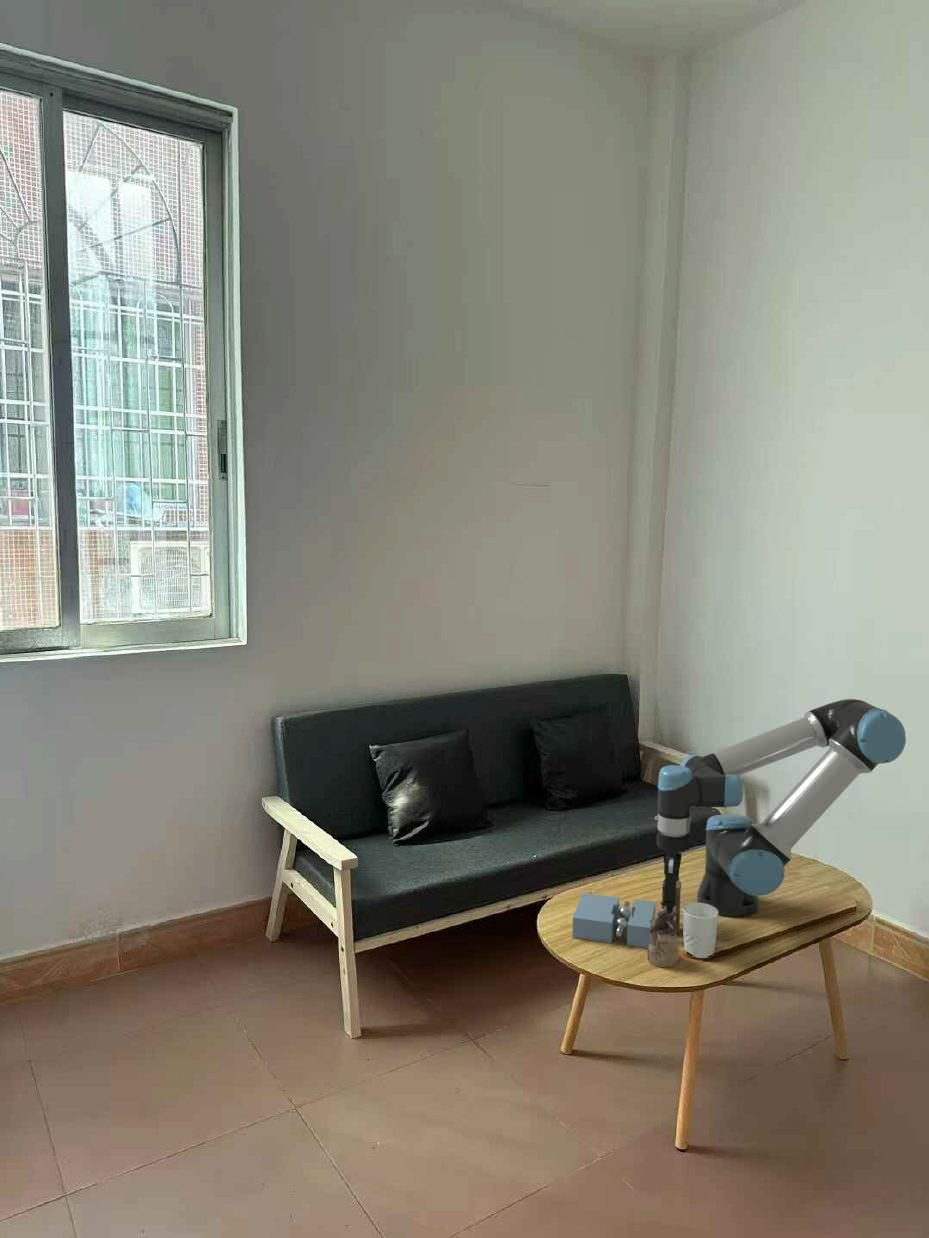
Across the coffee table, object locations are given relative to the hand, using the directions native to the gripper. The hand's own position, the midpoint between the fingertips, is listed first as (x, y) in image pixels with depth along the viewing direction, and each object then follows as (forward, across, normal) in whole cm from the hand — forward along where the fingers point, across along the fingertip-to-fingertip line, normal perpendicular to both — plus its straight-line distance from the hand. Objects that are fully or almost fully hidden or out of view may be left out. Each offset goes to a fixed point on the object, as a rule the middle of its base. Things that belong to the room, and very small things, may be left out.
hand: (670, 921), depth 214 cm
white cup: (+3, +8, +7) cm, 11 cm away
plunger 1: (+1, -2, -11) cm, 11 cm away
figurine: (+3, +14, -1) cm, 15 cm away
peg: (+2, 0, 0) cm, 2 cm away
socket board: (+2, +3, -13) cm, 14 cm away
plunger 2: (+1, +8, -11) cm, 14 cm away
